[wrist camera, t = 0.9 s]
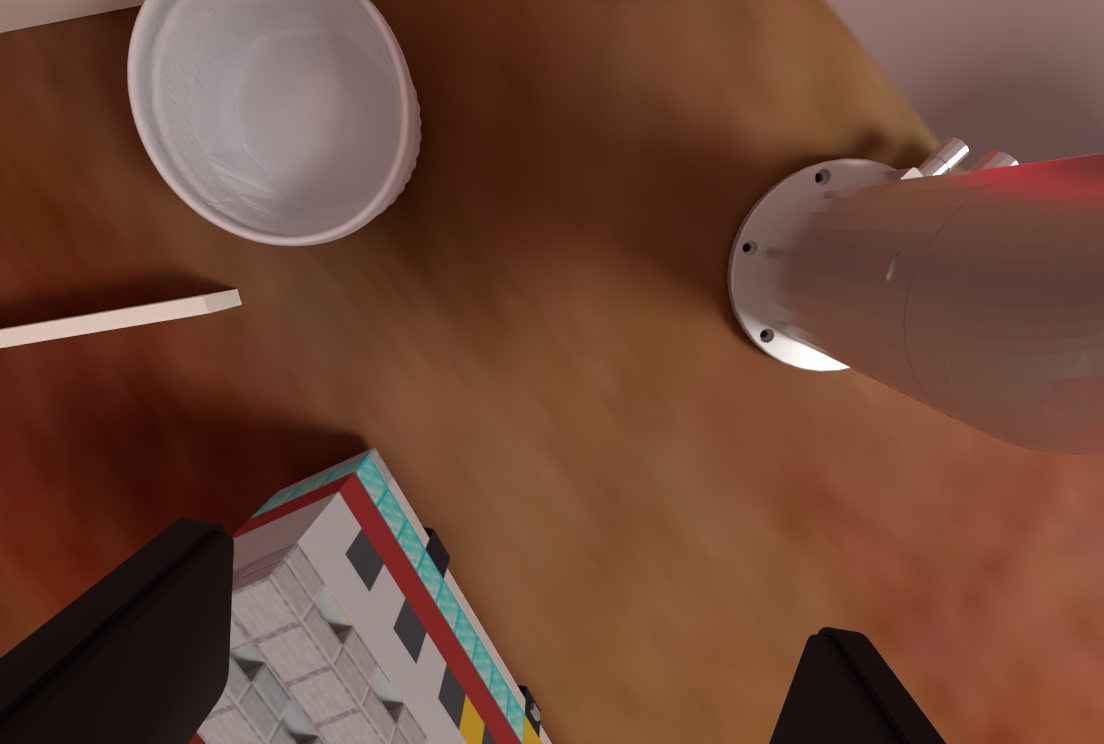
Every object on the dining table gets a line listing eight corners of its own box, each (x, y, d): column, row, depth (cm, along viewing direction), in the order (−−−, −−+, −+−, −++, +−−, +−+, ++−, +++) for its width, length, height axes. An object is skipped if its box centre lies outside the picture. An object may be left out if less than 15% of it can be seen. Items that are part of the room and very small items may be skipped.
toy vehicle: (482, 789, 45) (447, 1054, 31) (283, 484, 38) (117, 642, 24) (572, 757, 44) (580, 1015, 30) (384, 437, 37) (276, 573, 23)
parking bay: (142, -17, 31) (91, -47, 27) (241, 304, 35) (208, 313, 32) (-143, 40, 31) (-227, 17, 28) (-9, 346, 36) (-68, 359, 33)
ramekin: (485, 156, 33) (466, 139, 26) (317, 285, 35) (260, 300, 28) (338, -56, 30) (275, -137, 23) (166, 97, 32) (63, 63, 25)
